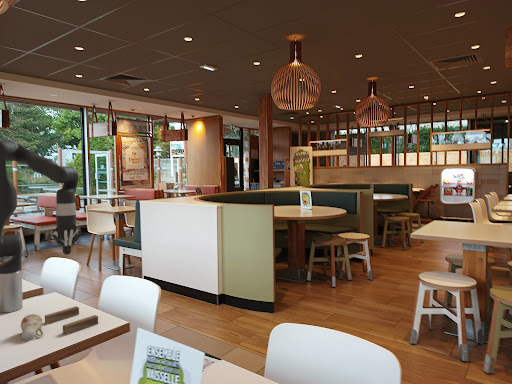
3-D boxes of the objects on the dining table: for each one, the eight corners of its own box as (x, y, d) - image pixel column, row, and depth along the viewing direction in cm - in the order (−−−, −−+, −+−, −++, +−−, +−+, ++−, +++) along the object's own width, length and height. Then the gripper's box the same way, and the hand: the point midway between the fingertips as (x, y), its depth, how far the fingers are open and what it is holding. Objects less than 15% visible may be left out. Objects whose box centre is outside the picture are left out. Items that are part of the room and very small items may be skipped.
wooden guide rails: (44, 322, 151) (44, 315, 150) (76, 312, 161) (76, 306, 161) (66, 334, 140) (65, 327, 140) (98, 323, 150) (98, 316, 150)
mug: (16, 344, 132) (13, 317, 135) (27, 344, 141) (23, 318, 144) (39, 336, 134) (35, 310, 138) (48, 337, 143) (44, 312, 146)
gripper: (77, 211, 162) (77, 250, 163) (45, 214, 152) (46, 255, 153) (86, 213, 158) (86, 252, 159) (54, 216, 147) (54, 258, 148)
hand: (66, 254), depth 156 cm, fingers closed
